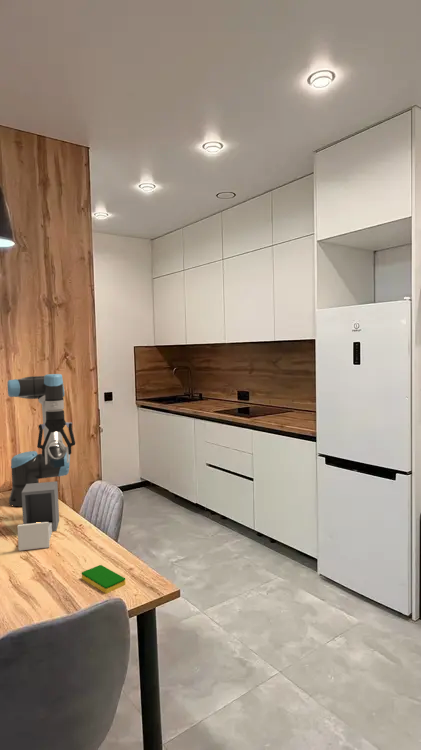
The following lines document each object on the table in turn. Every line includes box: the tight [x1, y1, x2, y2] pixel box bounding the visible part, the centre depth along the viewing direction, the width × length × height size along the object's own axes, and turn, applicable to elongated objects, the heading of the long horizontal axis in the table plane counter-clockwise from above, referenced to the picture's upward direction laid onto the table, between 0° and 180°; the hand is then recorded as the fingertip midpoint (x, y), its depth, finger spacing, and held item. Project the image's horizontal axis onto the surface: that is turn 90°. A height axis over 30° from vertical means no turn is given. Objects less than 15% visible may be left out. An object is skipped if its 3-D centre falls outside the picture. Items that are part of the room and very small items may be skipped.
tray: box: [17, 522, 53, 552], centre depth 178 cm, size 16×10×9 cm, turn 13°
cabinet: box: [21, 480, 60, 532], centre depth 192 cm, size 12×12×17 cm
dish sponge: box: [81, 564, 126, 594], centre depth 146 cm, size 7×14×2 cm, turn 46°
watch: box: [47, 440, 67, 468], centre depth 203 cm, size 6×8×11 cm
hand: (57, 462), depth 203 cm, fingers closed on watch, 8 cm apart
